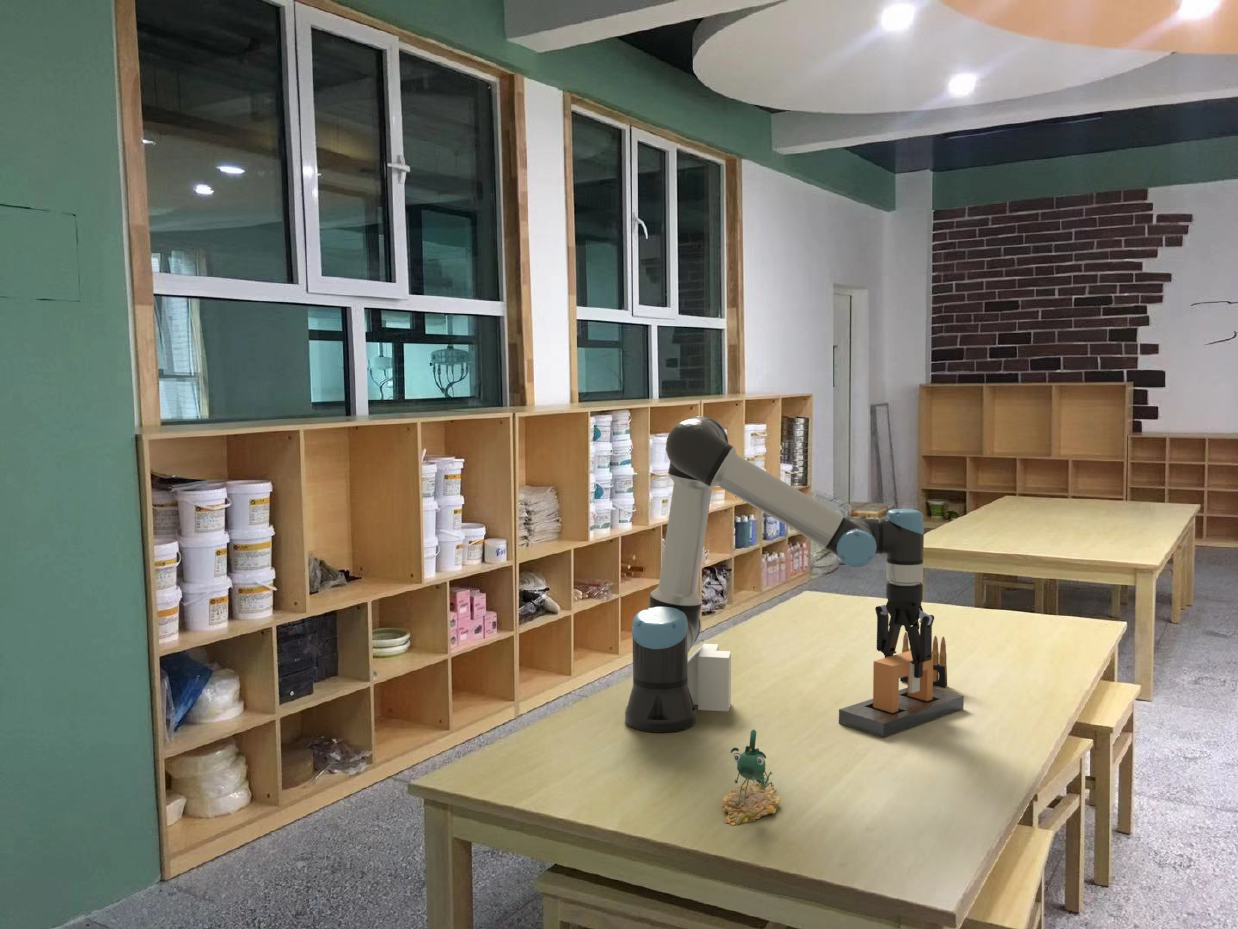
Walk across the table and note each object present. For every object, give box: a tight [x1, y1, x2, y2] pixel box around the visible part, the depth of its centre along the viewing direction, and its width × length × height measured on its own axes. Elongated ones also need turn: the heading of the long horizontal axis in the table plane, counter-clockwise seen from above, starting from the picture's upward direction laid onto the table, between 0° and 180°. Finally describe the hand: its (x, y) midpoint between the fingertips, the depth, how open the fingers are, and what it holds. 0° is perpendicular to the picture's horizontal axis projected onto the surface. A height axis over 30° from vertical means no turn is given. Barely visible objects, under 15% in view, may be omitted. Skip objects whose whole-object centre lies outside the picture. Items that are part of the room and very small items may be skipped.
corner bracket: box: [687, 643, 732, 712], centre depth 235 cm, size 11×11×12 cm
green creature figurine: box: [721, 729, 782, 826], centre depth 179 cm, size 10×18×15 cm, turn 145°
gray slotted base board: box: [838, 687, 965, 739], centre depth 225 cm, size 28×12×3 cm, turn 128°
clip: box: [872, 649, 934, 713], centre depth 224 cm, size 14×5×10 cm, turn 128°
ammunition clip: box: [899, 631, 948, 689], centre depth 247 cm, size 11×2×12 cm, turn 59°
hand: (903, 688), depth 224 cm, fingers closed on clip, 5 cm apart
